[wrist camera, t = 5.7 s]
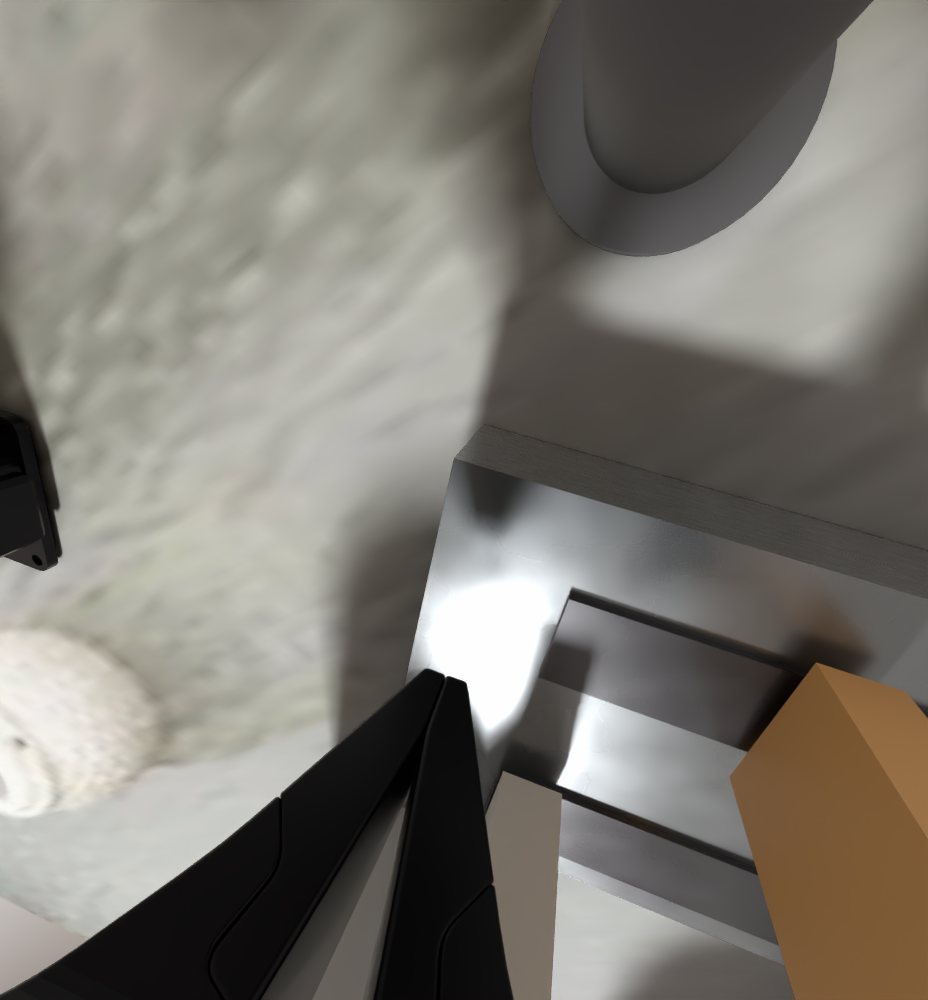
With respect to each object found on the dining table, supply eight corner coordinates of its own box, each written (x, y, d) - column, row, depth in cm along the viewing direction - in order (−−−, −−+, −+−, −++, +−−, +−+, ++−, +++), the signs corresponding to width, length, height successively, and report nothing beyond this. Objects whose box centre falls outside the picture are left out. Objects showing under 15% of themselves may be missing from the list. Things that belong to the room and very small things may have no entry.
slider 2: (729, 777, 10) (818, 1078, 6) (816, 662, 9) (1008, 966, 5) (803, 804, 10) (945, 1135, 6) (905, 691, 9) (1187, 1035, 5)
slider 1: (473, 845, 14) (425, 1071, 10) (503, 771, 12) (460, 1003, 8) (525, 866, 13) (497, 1106, 9) (561, 793, 12) (548, 1044, 8)
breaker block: (411, 722, 17) (363, 836, 14) (483, 424, 12) (437, 477, 8) (856, 894, 15) (944, 1085, 11) (1176, 621, 10) (1526, 810, 6)
